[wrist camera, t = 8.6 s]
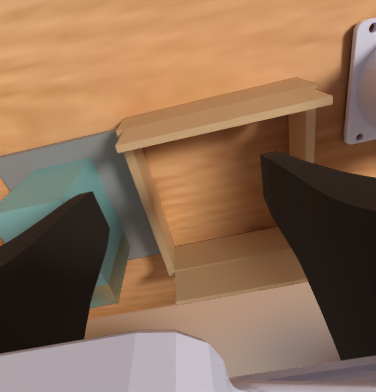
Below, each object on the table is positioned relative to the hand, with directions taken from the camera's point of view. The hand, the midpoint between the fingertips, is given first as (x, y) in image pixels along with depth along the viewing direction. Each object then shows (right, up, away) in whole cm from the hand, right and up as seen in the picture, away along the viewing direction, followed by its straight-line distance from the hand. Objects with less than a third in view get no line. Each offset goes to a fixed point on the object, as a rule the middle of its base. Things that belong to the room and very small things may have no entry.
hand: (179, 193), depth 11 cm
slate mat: (-8, -1, +11) cm, 14 cm away
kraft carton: (+3, +1, +10) cm, 11 cm away
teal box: (-8, -1, +11) cm, 14 cm away
